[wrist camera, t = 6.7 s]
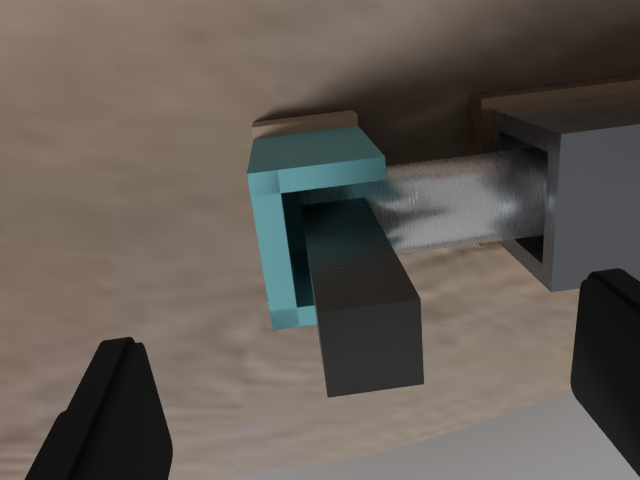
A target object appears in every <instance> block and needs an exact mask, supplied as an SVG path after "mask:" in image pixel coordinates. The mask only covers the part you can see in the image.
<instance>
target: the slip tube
mask: <svg viewBox="0 0 640 480" xmlns="http://www.w3.org/2000/svg"><path fill="white" fill-rule="evenodd" d="M548 153H549V152H546V151H544V150H542V149H540V148H537V147H533V148H525V149H517V150H509V151H501V152H493V153H485V154H478V155H470V156H462V157H454V158H446V159H438V160H430V161H423V162H415V163H407V164H399V165H391V166H386V180H380V181H373V182H365V183H357V184H349V185H341V186H334V187H326V188H318V189H310V190H302V191H298V192H299V200H300V208H301V215H302V223H303V231H304V238H305V245H306V253H307V260H308V266H309V272H310V279H311V286H312V293H313V300H314V306H315V313H316V320H317V327H318V334H319V341H320V348H321V354H322V361H323V368H324V375H325V382H326V389H327V396H328V398H329V397H336V396H343V395H350V394H357V393H364V392H371V391H378V390H385V389H392V388H399V387H406V386H413V385H420V384H424V374H423V350H422V326H421V302H420V297H419V295H418V293H417V292H416V290H415V288H414V286H413V284H412V282H411V281H410V279H409V277H408V275H407V273H406V271H405V270H404V268H403V266H402V264H401V262H400V260H399V259H398V257H397V255H396V254H404V253H411V252H419V251H426V250H434V249H441V248H449V247H456V246H464V245H472V244H479V243H487V242H494V241H502V240H509V239H517V238H524V237H532V236H539V235H544V225H545V207H546V189H547V171H548Z"/></svg>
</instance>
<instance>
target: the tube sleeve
mask: <svg viewBox="0 0 640 480" xmlns="http://www.w3.org/2000/svg"><path fill="white" fill-rule="evenodd" d="M533 147H537V148H540V149H542V150H544V151H546V152H549V153H548V171H547V189H546V207H545V225H544V235H539V236H532V237H524V238H517V239H509V240H502V241H494V242H487V243H479V245H480V246H484V245H491V244H499V243H500V244H501V245H502V246H503V247H504V248H505V249H506V250H507V251H508V252H509V253H510V254H511V255H513V256H514V257H515V258H516V259H517V260H518V261H519V262H520V263H521V264H522V265H523V266H524V267H525V268H526V269H527V270H528V271H529V272H531V273H532V274H533V275H534V276H535V277H536V278H537V279H538V280H539V281H540V282H541V283H542V284H543V285H544V286H545V287H546V288H547V289H549V290H550V291H551V292H555V291H563V290H570V289H577V288H580V286H581V283H582V281H583V280H585V279H587V277H588V275H589V274H590V273H591V272H594V271H601V270H608V269H615V268H621V269H623V270H624V271H626V272H627V273H629V274H630V275H631V276H633V277H634V278H636V279H637V280H640V74H639V75H631V76H622V77H614V78H606V79H598V80H590V81H582V82H574V83H566V84H558V85H549V86H541V87H533V88H525V89H517V90H509V91H501V92H493V93H485V94H476V95H470V155H478V154H485V153H493V152H501V151H509V150H517V149H525V148H533Z"/></svg>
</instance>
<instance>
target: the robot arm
mask: <svg viewBox="0 0 640 480" xmlns="http://www.w3.org/2000/svg"><path fill="white" fill-rule="evenodd" d="M571 388H572V391H573V393H574V396H575V397H576V399H577V400H578V401H579V403H580V404H581V405H582V406H583V407H584V409H585V410H586V411H587V412H588V414H589V415H590V416H591V417H592V419H593V420H594V421H595V422H596V423H597V425H598V426H599V427H600V428H601V430H602V431H603V432H604V433H605V435H606V436H607V437H608V438H609V439H610V441H611V442H612V443H613V445H614V446H615V447H616V448H617V449H618V451H619V452H620V453H621V454H622V456H623V457H624V458H625V459H626V460H627V462H628V463H629V464H630V466H631V467H632V468H633V469H634V471H636V473H637V474H638V476H639V477H640V281H639V280H637V279H636V278H634V277H633V276H631V275H630V274H629V273H627V272H626V271H624V270H623V269H621V268H615V269H608V270H601V271H594V272H591V273H590V274H589V275H588V277H587V279H585V280H583V281H582V283H581V286H580V293H579V303H578V313H577V323H576V332H575V342H574V352H573V361H572V371H571ZM172 456H173V447H172V441H171V437H170V433H169V430H168V426H167V423H166V419H165V416H164V413H163V409H162V406H161V402H160V399H159V395H158V392H157V388H156V385H155V381H154V378H153V374H152V371H151V367H150V364H149V360H148V357H147V353H146V350H145V347H144V345H143V343H141V342H140V343H135V341H134V340H133V338H131V337H126V338H118V339H111V340H104V341H102V342H101V343H100V345H99V347H98V349H97V351H96V353H95V355H94V357H93V359H92V361H91V362H90V364H89V366H88V368H87V370H86V372H85V374H84V376H83V378H82V380H81V382H80V384H79V386H78V388H77V390H76V392H75V394H74V396H73V398H72V400H71V402H70V404H69V406H68V408H67V410H66V411H64V412H62V413H60V415H59V416H58V417H57V419H56V420H55V422H54V424H53V426H52V428H51V430H50V432H49V434H48V436H47V438H46V440H45V441H44V443H43V445H42V447H41V449H40V451H39V453H38V455H37V457H36V459H35V461H34V463H33V464H32V466H31V468H30V470H29V472H28V474H27V476H26V478H25V480H168V476H169V472H170V467H171V462H172Z"/></svg>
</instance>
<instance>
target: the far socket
mask: <svg viewBox="0 0 640 480" xmlns="http://www.w3.org/2000/svg"><path fill="white" fill-rule="evenodd" d="M252 132H253V138H254V140H253V145H252V150H251V156H250V161H249V166H248V171H247V177H248V183H249V189H250V195H251V201H252V207H253V213H254V219H255V225H256V231H257V237H258V243H259V249H260V256H261V262H262V268H263V274H264V280H265V286H266V292H267V298H268V304H269V310H270V316H271V322H272V328H273V330H278V329H285V328H293V327H300V326H307V325H314V324H317V320H316V313H315V306H314V300H313V293H312V286H311V279H310V272H309V266H308V260H307V253H306V245H305V238H304V231H303V223H302V215H301V208H300V200H299V192H298V191H302V190H310V189H318V188H326V187H334V186H341V185H349V184H357V183H365V182H373V181H380V180H386V164H385V156H384V155H383V154H382V153H381V151H380V150H379V149H378V148H377V147H376V146H375V145H374V143H373V142H372V141H371V140H370V139H369V138H368V137H367V135H366V134H365V133H364V132H363V131H362V130H361V129H360V127H359V126H358V116H357V114H356V113H355V112H354V111H353V110H347V111H338V112H330V113H322V114H314V115H306V116H298V117H290V118H282V119H273V120H265V121H257V122H253V125H252Z"/></svg>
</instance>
